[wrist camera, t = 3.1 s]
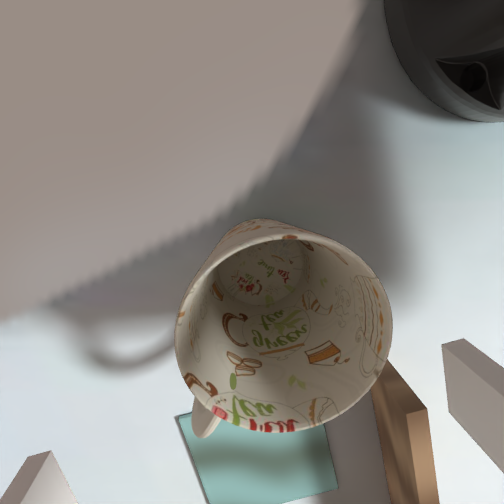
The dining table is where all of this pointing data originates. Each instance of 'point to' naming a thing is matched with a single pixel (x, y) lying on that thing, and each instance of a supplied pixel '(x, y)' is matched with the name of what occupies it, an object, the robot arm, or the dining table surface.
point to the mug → (280, 330)
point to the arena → (316, 454)
